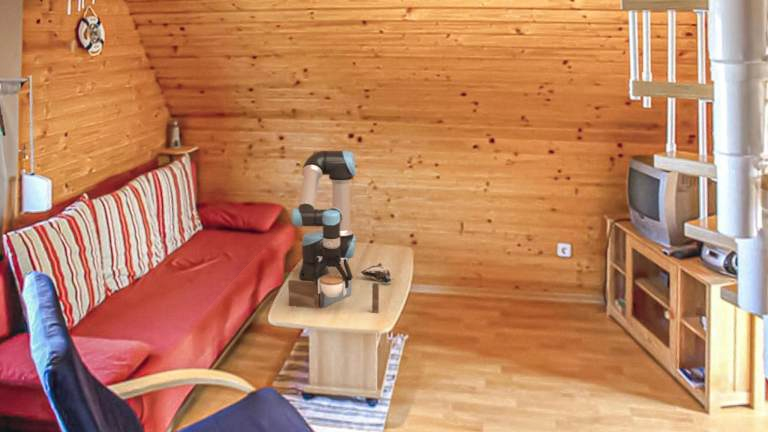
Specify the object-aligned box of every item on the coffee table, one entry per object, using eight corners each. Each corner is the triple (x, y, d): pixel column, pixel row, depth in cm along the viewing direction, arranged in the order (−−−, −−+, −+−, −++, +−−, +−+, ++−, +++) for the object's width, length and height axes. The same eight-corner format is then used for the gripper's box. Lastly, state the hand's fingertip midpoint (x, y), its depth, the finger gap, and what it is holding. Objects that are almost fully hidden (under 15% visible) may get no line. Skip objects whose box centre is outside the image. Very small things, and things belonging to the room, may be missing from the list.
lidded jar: (322, 300, 306) (322, 280, 304) (317, 291, 316) (317, 271, 314) (346, 297, 309) (346, 277, 307) (341, 288, 319) (341, 269, 316)
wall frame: (290, 304, 323) (289, 276, 319) (378, 311, 316) (378, 282, 312) (288, 306, 321) (288, 278, 317) (377, 313, 314) (378, 284, 310)
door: (319, 307, 319) (318, 286, 316) (348, 293, 336) (348, 273, 333) (321, 308, 318) (321, 287, 315) (351, 294, 335) (351, 274, 333)
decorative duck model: (395, 274, 345) (365, 274, 342) (394, 288, 347) (364, 289, 344) (389, 261, 359) (360, 262, 355) (388, 275, 361) (359, 276, 358)
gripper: (303, 247, 305) (304, 294, 311) (355, 250, 301) (356, 298, 307) (308, 241, 312) (309, 288, 318) (359, 245, 308) (359, 292, 314)
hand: (332, 293), depth 313 cm, fingers closed on lidded jar, 11 cm apart
